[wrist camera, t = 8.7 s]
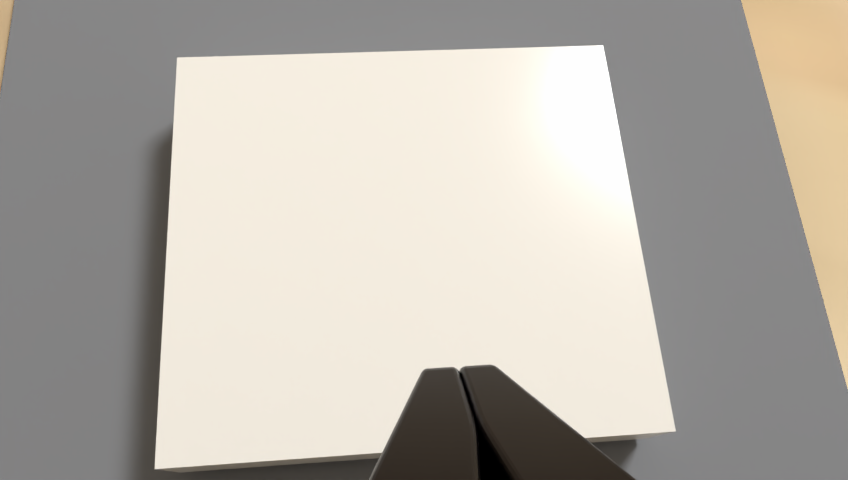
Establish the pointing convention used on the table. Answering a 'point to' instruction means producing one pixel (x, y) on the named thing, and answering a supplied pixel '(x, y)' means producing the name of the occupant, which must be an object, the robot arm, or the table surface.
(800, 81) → the table surface
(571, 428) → the robot arm
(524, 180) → the tile
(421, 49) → the mat
